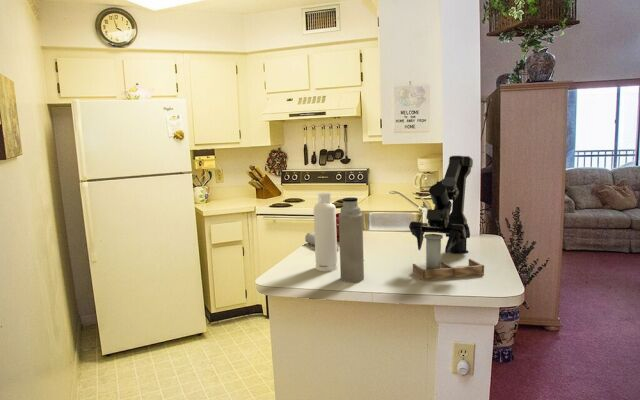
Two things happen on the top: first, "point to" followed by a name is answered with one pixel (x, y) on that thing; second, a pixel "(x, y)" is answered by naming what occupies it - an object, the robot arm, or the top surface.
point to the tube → (312, 239)
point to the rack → (449, 271)
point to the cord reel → (433, 251)
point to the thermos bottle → (351, 241)
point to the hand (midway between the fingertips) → (432, 251)
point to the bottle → (325, 233)
